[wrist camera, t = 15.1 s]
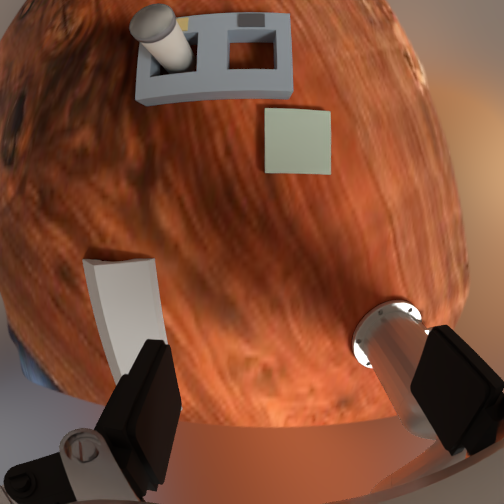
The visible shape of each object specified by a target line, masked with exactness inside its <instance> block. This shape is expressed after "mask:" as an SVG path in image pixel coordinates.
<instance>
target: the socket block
mask: <svg viewBox="0 0 504 504" xmlns="http://www.w3.org/2000/svg"><path fill="white" fill-rule="evenodd" d="M176 20H177V22H178V24H179V26H180V28H181V30H182V32H183V34H184V36H185V38H186V40H187V41H188V43H189V45H190V46H191V45H198V50H197V71H196V72H186V73H177V74H169V75H161V76H160V66H161V64H160V63H159V62H158V61H157V60H156V59H155V57H154V56H153V55H152V54H151V53H150V52H149V51H148V50H147V49H146V48H145V47H144V46H143V44H142V43H141V42H140V44H139V53H138V64H137V77H136V93H135V100H136V101H138V102H140V103H141V104H143V105H145V106H152V105H160V104H168V103H177V102H188V101H201V100H218V99H289V98H290V96H291V94H292V93H293V68H292V45H291V26H290V14H285V13H261V12H243V13H218V14H205V15H195V16H186V17H179V18H176ZM237 42H267V43H274V69H229V50H230V43H237Z"/></svg>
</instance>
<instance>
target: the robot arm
mask: <svg viewBox="0 0 504 504" xmlns="http://www.w3.org/2000/svg"><path fill="white" fill-rule="evenodd" d="M352 350H353V353H354V355H355V358H356V359H357V361H358V362H359V363H360V364H362V365H363V366H365V367H368V368H373V370H374V371H375V373H376V375H377V377H378V379H379V380H380V382H381V384H382V386H383V388H384V390H385V392H386V393H387V395H388V397H389V399H390V401H391V403H392V405H393V407H394V408H395V410H396V412H397V414H398V416H399V418H400V420H401V422H402V424H403V426H404V427H405V428H406V429H407V430H408V431H409V432H410V433H412V434H413V435H415V436H418V437H421V438H426V439H432V440H436V442H435V443H434V444H433V445H432V446H430V447H429V448H428V449H427V450H426V451H425V452H424V453H422V454H421V455H419V456H418V457H417V458H415V459H414V460H412V461H411V462H409V463H408V464H406V465H405V466H403V467H402V468H400V469H399V470H397V471H395V472H394V473H392V474H391V475H389V476H387V477H386V478H384V479H383V480H381V481H380V482H379V483H378V484H377V485H376V486H375V487H374V488H373V489H372V490H371V492H370V494H368V495H364V496H360V497H356V498H351V499H346V500H341V501H336V502H330V503H325V504H504V393H503V392H502V391H503V388H504V381H503V380H502V379H501V378H500V377H499V376H498V375H497V374H496V373H495V372H494V371H493V369H491V368H490V367H489V365H488V364H487V363H486V362H485V361H484V360H483V359H482V358H481V357H480V356H479V355H478V354H477V353H476V352H475V351H474V350H473V349H472V348H471V347H470V346H469V345H468V344H467V343H466V342H465V341H464V340H463V339H461V338H460V336H458V335H457V334H456V333H455V332H454V331H453V330H452V329H451V328H450V327H449V326H448V325H441V326H435V327H430V328H426V327H425V326H424V325H423V324H422V319H421V315H420V313H419V311H418V310H417V309H416V308H415V306H413V305H412V304H411V303H409V302H407V301H404V300H391V301H388V302H385V303H382V304H380V305H378V306H377V307H375V308H374V309H372V310H371V311H370V312H369V313H367V314H366V315H365V316H364V318H363V319H362V320H361V321H360V323H359V324H358V326H357V327H356V329H355V332H354V334H353V338H352ZM181 406H182V403H181V397H180V392H179V388H178V383H177V378H176V373H175V368H174V363H173V358H172V353H171V348H170V345H168V344H165V342H164V340H156V339H147V340H146V341H145V343H144V345H143V347H142V348H141V350H140V352H139V354H138V356H137V358H136V360H135V362H134V363H133V365H132V367H131V369H130V371H129V373H128V374H124V375H122V377H121V378H120V380H119V382H118V384H117V385H116V387H115V389H114V391H113V393H112V395H111V397H110V399H109V401H108V403H107V405H106V407H105V409H104V410H103V412H102V414H101V416H100V418H99V420H98V422H97V424H96V427H95V428H94V430H92V429H87V428H80V429H75V430H73V431H71V432H69V433H68V434H66V435H65V436H64V437H63V439H62V440H61V442H60V446H59V449H60V452H58V453H55V454H52V455H49V456H46V457H42V458H39V459H36V460H33V461H30V462H26V463H23V464H19V465H16V466H14V467H12V468H10V470H8V471H7V473H6V475H5V477H4V485H2V486H1V485H0V504H156V503H149V502H145V500H144V498H143V496H145V495H146V491H147V490H152V491H157V488H158V484H161V485H162V484H163V483H164V480H165V476H166V471H167V467H168V463H169V458H170V453H171V450H172V445H173V441H174V436H175V433H176V428H177V424H178V420H179V416H180V412H181Z"/></svg>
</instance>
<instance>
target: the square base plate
mask: <svg viewBox="0 0 504 504" xmlns="http://www.w3.org/2000/svg"><path fill="white" fill-rule="evenodd" d="M264 133H265V173H299V174H326V175H331V115H330V111H319V110H306V109H286V108H265V109H264Z"/></svg>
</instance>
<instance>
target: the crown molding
mask: <svg viewBox="0 0 504 504" xmlns="http://www.w3.org/2000/svg"><path fill="white" fill-rule="evenodd" d="M82 260H83V266H84V271H85V276H86V281H87V286H88V291H89V295H90V300H91V304H92V308H93V312H94V316H95V320H96V324H97V327H98V331H99V334H100V338H101V341H102V344H103V348H104V351H105V354H106V357H107V360H108V363H109V366H110V369H111V372H112V375H113V378H114V380H115V383H116V385H117V384H118V382H119V380H120V378H121V377H122V375H124V374H128V373H129V371H130V369H131V367H132V365H133V363H134V362H135V360H136V358H137V356H138V354H139V352H140V350H141V348H142V347H143V345H144V343H145V341H146V340H147V339H156V340H164V342H165V344H168V343H167V337H166V332H165V326H164V320H163V314H162V308H161V301H160V295H159V288H158V280H157V273H156V265H155V258H149V259H132V260H126V261H116V262H110V261H101V260H96V259H94V260H91V259H82ZM181 410H182V406H181Z"/></svg>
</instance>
